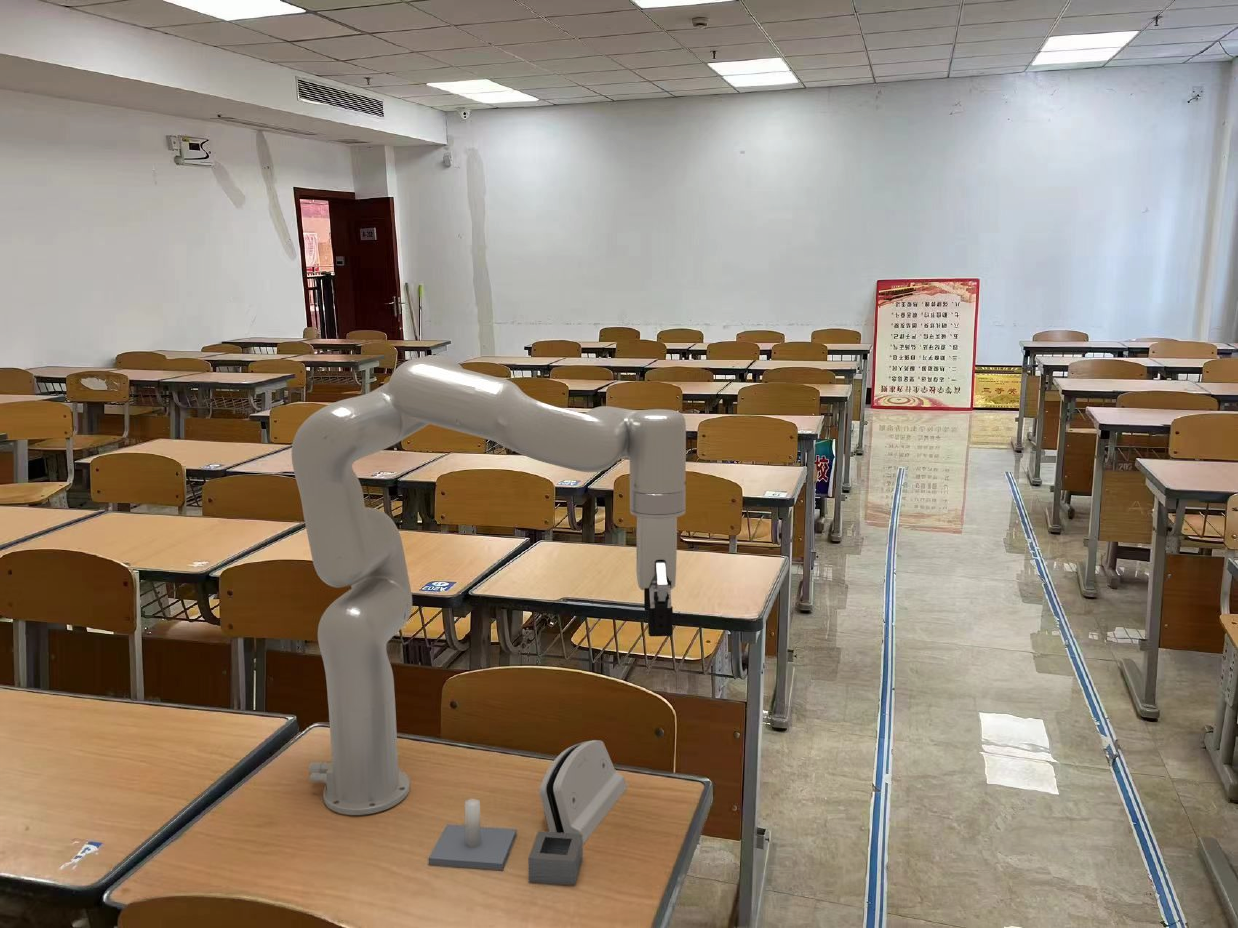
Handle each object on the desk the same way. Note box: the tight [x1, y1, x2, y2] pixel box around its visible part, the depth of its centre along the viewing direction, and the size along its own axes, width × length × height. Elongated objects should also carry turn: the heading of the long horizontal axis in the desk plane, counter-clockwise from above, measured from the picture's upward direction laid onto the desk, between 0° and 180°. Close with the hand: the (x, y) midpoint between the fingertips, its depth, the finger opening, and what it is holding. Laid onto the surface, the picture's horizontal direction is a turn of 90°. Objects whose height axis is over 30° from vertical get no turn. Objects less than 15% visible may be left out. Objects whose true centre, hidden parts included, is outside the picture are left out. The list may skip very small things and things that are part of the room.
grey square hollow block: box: [527, 830, 584, 887], centre depth 122 cm, size 6×6×4 cm
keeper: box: [428, 798, 518, 872], centre depth 126 cm, size 10×8×7 cm
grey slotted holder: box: [539, 739, 628, 845], centre depth 136 cm, size 17×5×10 cm, turn 157°
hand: (657, 622), depth 129 cm, fingers open, 9 cm apart
